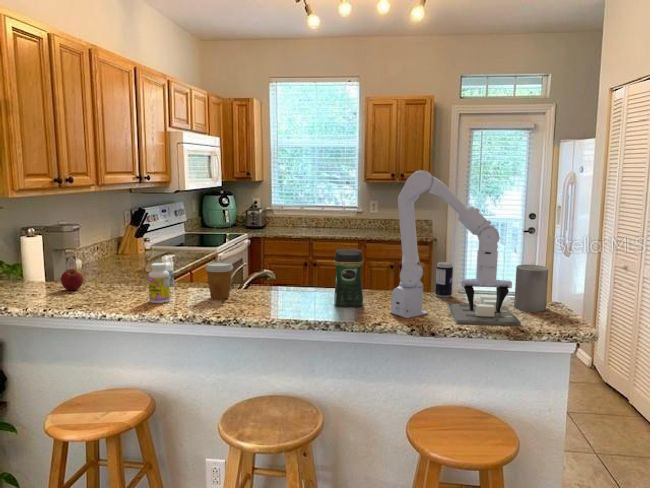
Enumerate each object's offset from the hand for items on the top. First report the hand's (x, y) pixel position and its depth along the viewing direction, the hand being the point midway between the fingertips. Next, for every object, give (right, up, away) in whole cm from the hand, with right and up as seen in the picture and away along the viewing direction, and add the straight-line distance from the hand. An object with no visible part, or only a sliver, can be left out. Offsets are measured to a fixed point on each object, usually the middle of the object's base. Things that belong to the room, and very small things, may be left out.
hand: (484, 310), depth 147 cm
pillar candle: (+19, -1, +13) cm, 23 cm away
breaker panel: (+1, -2, +4) cm, 5 cm away
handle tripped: (0, -1, 0) cm, 1 cm away
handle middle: (+4, -1, +6) cm, 7 cm away
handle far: (+5, 0, +12) cm, 13 cm away
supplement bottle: (-104, 0, +19) cm, 105 cm away
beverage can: (-5, +1, +29) cm, 30 cm away
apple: (-141, +3, +34) cm, 145 cm away
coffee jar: (-40, 0, +16) cm, 43 cm away
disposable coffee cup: (-84, +1, +25) cm, 88 cm away
